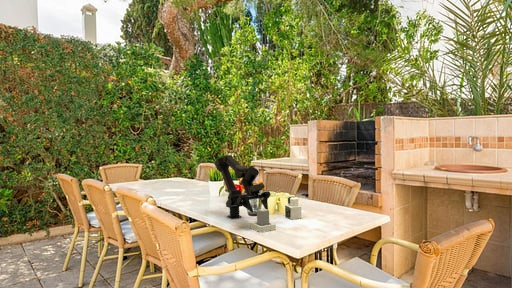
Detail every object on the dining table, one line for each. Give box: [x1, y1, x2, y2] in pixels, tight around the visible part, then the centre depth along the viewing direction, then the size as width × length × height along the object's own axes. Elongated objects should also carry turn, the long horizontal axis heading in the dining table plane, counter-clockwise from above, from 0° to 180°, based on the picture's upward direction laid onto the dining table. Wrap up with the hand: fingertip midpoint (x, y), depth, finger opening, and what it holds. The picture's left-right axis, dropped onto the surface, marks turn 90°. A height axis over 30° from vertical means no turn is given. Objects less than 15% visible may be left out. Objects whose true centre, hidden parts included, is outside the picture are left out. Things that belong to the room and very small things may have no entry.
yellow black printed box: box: [284, 196, 302, 220], centre depth 203 cm, size 7×7×12 cm
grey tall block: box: [256, 208, 270, 226], centre depth 180 cm, size 4×4×9 cm
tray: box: [250, 221, 277, 233], centre depth 181 cm, size 9×9×3 cm
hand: (260, 211), depth 182 cm, fingers open, 9 cm apart
